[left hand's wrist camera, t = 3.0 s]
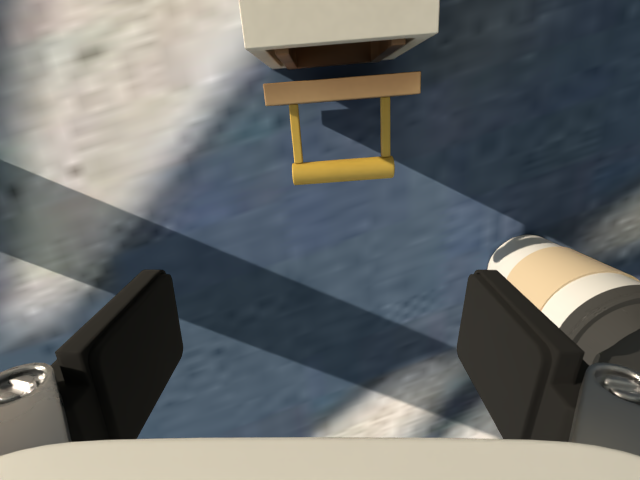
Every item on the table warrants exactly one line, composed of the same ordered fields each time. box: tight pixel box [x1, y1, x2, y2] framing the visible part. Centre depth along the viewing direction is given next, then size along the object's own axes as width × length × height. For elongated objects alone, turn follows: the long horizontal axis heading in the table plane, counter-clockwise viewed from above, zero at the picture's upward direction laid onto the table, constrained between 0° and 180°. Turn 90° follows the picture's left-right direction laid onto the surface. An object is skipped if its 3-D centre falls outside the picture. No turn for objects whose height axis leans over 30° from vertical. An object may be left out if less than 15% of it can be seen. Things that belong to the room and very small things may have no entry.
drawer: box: [263, 38, 421, 185], centre depth 23 cm, size 22×9×10 cm, turn 4°
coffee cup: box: [488, 235, 640, 373], centre depth 29 cm, size 9×9×15 cm
